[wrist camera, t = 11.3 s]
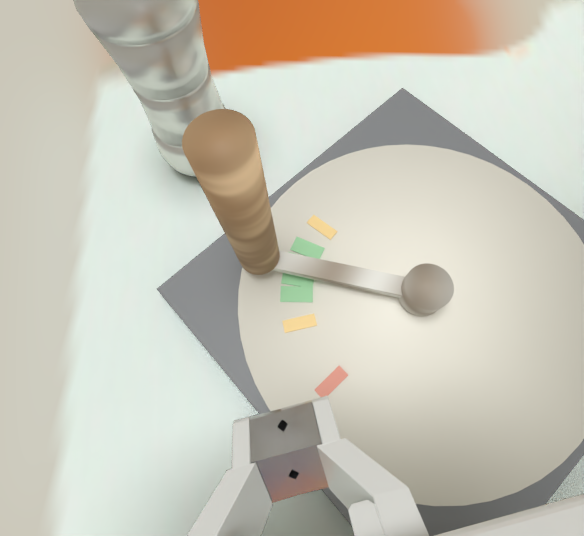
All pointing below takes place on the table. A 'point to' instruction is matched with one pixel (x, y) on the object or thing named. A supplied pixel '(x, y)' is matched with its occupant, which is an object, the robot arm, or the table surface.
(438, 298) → the needle lever
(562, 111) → the table surface
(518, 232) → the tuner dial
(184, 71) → the plastic bottle
